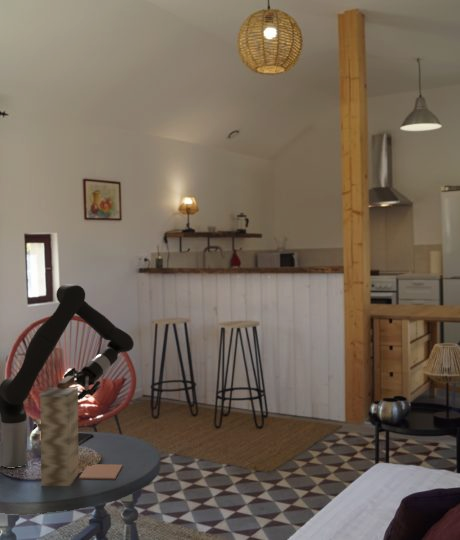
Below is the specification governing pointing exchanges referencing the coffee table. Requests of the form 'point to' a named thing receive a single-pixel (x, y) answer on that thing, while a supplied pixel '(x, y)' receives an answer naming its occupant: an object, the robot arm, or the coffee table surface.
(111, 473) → the tile
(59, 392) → the turner
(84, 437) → the phone
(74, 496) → the coffee table surface
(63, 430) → the stand
